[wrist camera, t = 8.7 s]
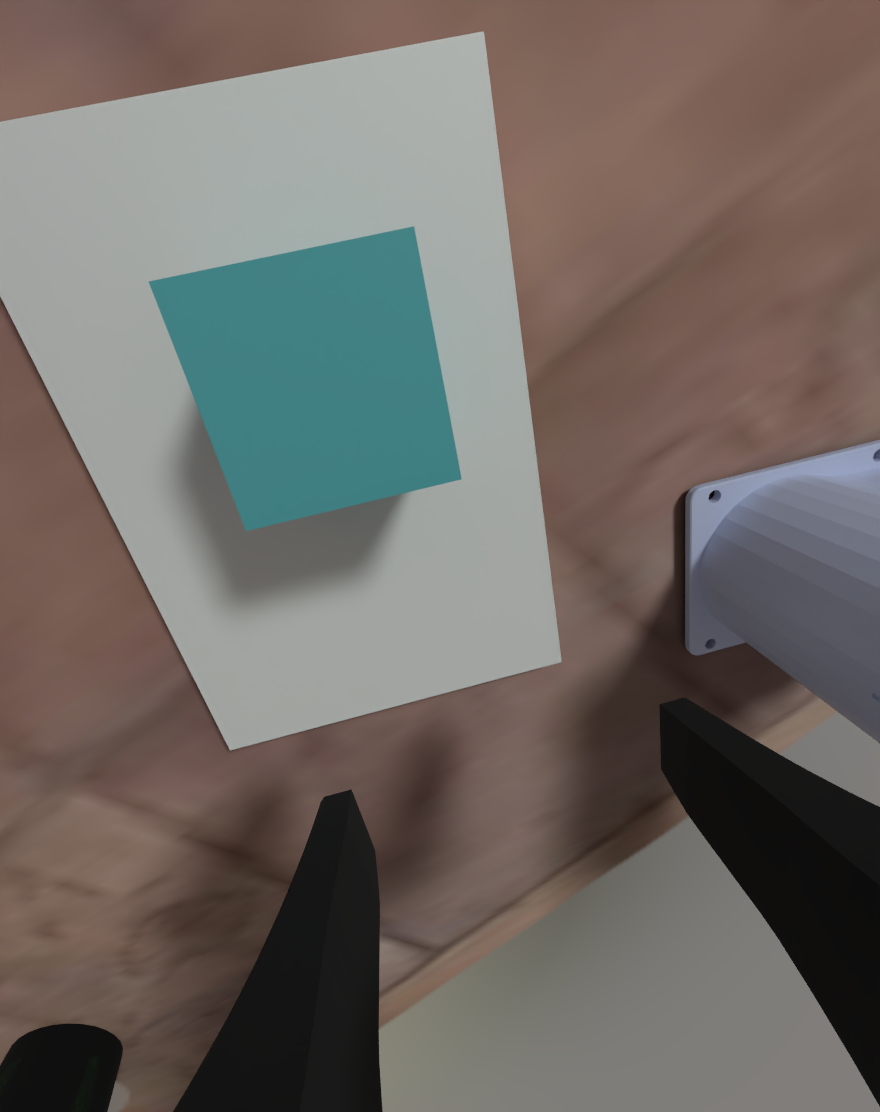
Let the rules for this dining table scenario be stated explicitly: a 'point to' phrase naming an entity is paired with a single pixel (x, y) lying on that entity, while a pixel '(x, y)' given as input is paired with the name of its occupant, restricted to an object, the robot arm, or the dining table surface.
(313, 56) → the dining table surface
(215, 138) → the post board
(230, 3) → the dining table surface
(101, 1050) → the cup
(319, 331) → the turquoise box
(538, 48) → the dining table surface
